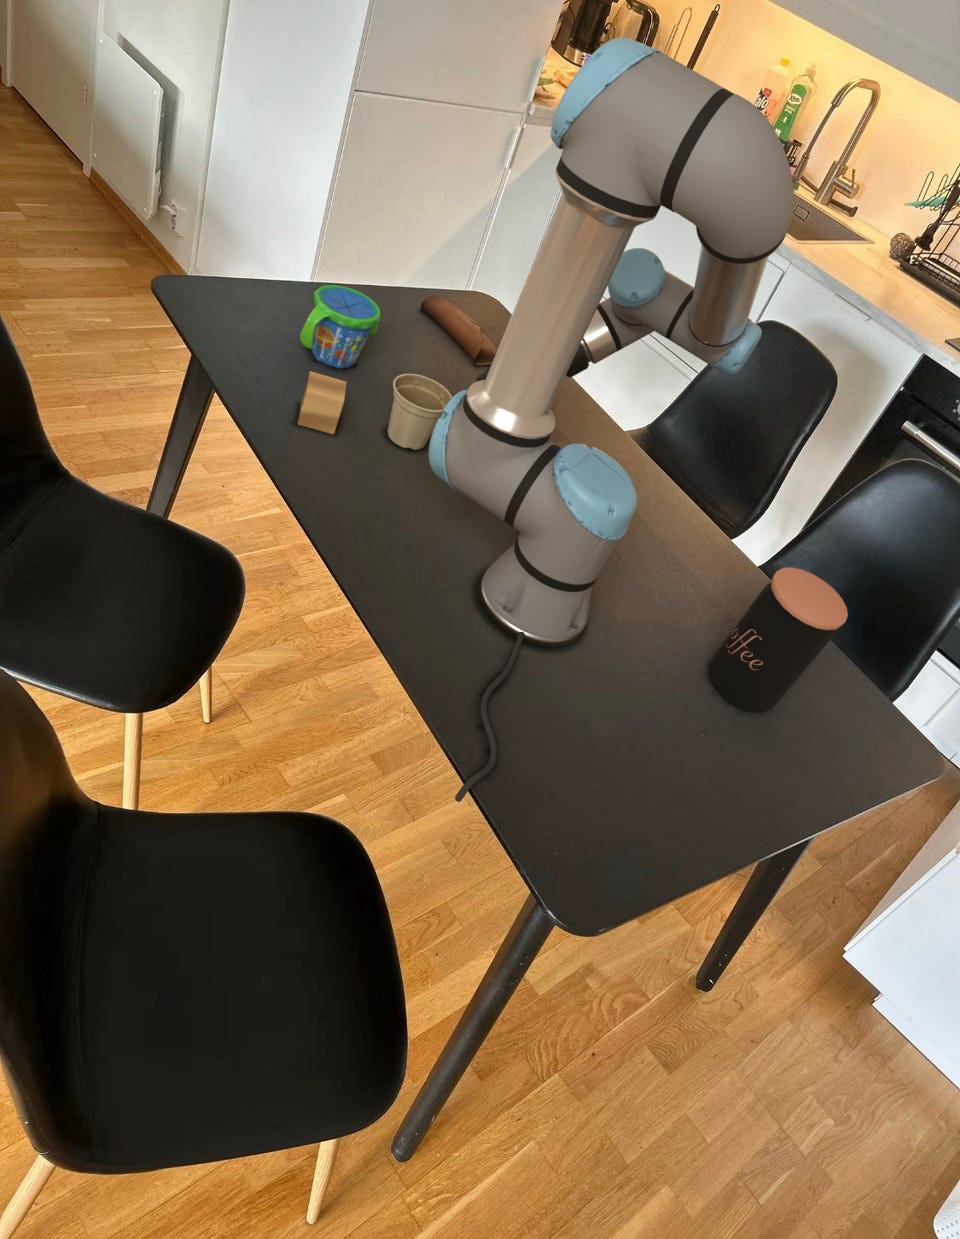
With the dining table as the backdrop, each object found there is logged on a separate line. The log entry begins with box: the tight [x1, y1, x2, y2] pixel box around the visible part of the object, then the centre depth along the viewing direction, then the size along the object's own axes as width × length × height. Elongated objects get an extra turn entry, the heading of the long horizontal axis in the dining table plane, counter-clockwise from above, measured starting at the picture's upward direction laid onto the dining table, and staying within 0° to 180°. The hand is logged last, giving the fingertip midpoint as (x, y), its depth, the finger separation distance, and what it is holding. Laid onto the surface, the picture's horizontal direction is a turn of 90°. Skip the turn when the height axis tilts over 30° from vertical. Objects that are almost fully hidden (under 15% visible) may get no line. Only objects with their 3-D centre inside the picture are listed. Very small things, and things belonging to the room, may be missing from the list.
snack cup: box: [299, 284, 381, 370], centre depth 158 cm, size 16×10×10 cm
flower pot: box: [387, 373, 453, 451], centre depth 149 cm, size 9×9×9 cm
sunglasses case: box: [420, 295, 498, 367], centre depth 181 cm, size 18×7×7 cm
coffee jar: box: [708, 566, 849, 713], centre depth 131 cm, size 11×11×18 cm
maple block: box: [297, 370, 347, 435], centre depth 145 cm, size 6×6×6 cm
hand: (443, 420), depth 151 cm, fingers closed
